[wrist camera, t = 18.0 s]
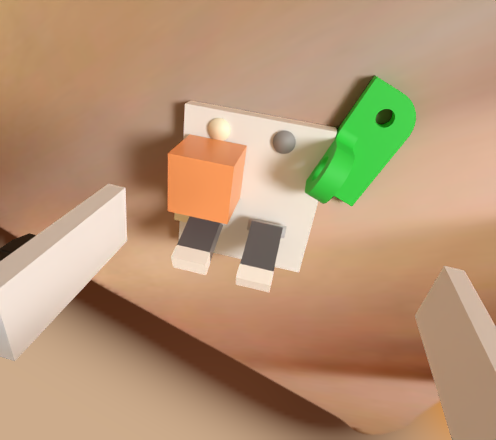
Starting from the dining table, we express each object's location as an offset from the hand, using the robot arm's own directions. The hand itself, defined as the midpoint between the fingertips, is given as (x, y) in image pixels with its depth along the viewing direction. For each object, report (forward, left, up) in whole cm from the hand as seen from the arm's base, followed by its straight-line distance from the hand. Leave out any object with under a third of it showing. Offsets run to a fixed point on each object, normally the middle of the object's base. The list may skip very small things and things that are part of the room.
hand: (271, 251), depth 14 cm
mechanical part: (+1, +7, -26) cm, 27 cm away
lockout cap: (+6, -8, -24) cm, 26 cm away
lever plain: (+12, -1, -22) cm, 25 cm away
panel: (+9, -4, -26) cm, 28 cm away
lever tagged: (+12, -8, -22) cm, 27 cm away
